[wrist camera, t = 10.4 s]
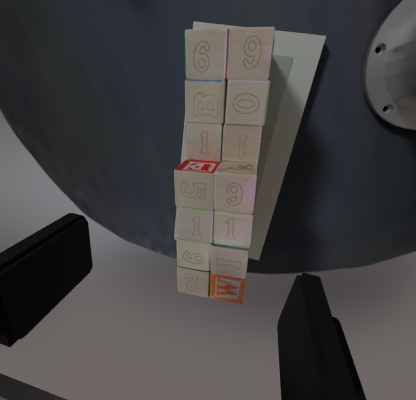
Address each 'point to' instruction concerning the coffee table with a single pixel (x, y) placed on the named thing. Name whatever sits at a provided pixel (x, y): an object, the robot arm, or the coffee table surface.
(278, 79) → the baseplate
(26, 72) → the coffee table surface
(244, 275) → the stack of blocks
